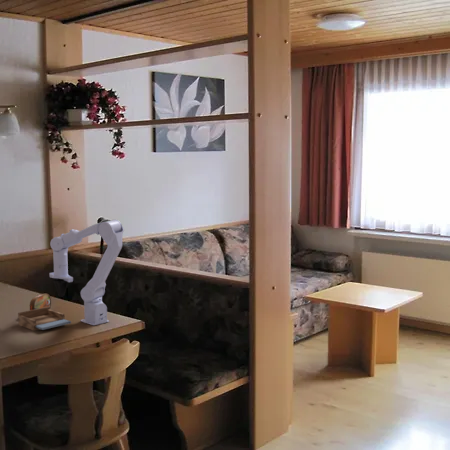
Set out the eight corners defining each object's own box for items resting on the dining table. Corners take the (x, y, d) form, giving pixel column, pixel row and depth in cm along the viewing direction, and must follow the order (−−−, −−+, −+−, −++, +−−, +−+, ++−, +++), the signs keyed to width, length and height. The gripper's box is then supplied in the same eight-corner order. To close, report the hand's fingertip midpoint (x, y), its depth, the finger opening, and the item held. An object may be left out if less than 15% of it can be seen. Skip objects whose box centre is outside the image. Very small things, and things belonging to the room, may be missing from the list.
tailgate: (63, 321, 256) (71, 323, 253) (35, 327, 247) (42, 329, 243) (63, 319, 256) (71, 321, 253) (35, 325, 247) (42, 327, 243)
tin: (35, 319, 263) (34, 299, 262) (28, 318, 264) (27, 299, 263) (52, 310, 278) (51, 291, 277) (45, 309, 279) (45, 291, 277)
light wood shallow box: (64, 323, 257) (64, 311, 256) (34, 330, 247) (33, 318, 246) (48, 318, 265) (48, 306, 264) (18, 324, 255) (18, 312, 254)
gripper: (42, 263, 264) (43, 295, 266) (62, 268, 254) (63, 300, 256) (57, 261, 269) (58, 292, 271) (76, 266, 260) (77, 297, 261)
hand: (61, 296), depth 264 cm, fingers closed
